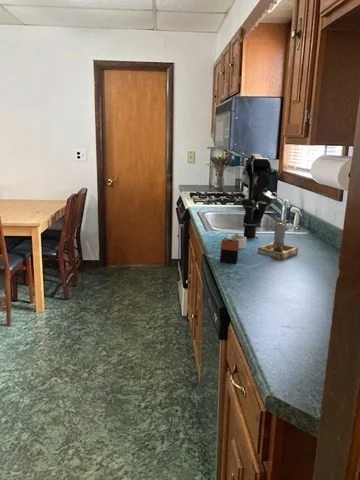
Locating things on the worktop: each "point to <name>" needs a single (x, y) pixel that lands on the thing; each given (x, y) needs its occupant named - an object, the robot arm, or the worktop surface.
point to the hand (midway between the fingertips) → (255, 219)
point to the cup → (240, 241)
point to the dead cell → (237, 236)
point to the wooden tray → (287, 252)
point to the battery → (229, 250)
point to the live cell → (279, 237)
